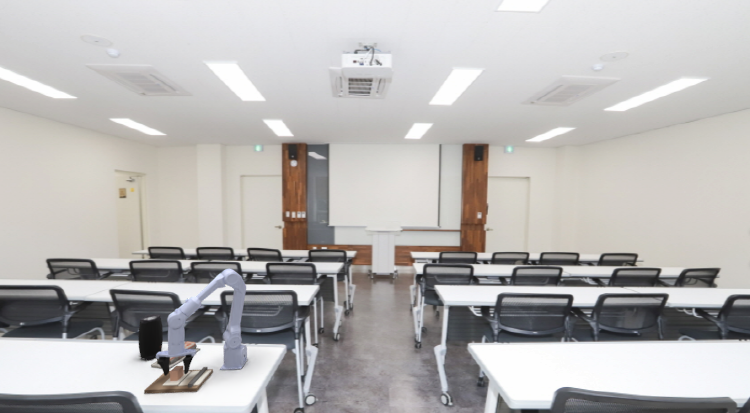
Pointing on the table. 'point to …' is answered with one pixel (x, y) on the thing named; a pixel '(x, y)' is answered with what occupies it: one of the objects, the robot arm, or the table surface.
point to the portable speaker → (150, 336)
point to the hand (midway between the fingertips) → (176, 373)
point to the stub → (176, 376)
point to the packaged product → (180, 358)
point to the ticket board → (187, 385)
